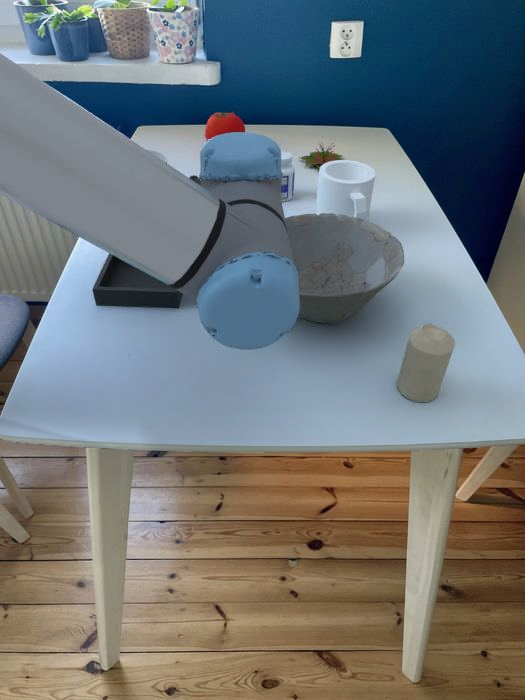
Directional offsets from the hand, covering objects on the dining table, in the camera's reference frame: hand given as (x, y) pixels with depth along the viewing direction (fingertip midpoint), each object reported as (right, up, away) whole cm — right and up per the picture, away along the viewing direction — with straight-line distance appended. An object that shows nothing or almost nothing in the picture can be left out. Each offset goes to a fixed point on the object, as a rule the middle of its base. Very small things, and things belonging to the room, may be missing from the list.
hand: (127, 175), depth 79 cm
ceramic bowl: (+29, -18, +7) cm, 35 cm away
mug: (+35, -2, +26) cm, 44 cm away
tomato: (+11, +24, +54) cm, 60 cm away
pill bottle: (+24, +7, +35) cm, 43 cm away
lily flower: (+34, +18, +48) cm, 62 cm away
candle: (+41, -31, -6) cm, 51 cm away
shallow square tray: (0, -14, +11) cm, 18 cm away
